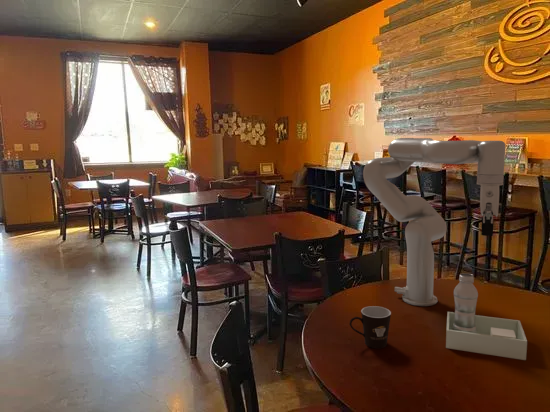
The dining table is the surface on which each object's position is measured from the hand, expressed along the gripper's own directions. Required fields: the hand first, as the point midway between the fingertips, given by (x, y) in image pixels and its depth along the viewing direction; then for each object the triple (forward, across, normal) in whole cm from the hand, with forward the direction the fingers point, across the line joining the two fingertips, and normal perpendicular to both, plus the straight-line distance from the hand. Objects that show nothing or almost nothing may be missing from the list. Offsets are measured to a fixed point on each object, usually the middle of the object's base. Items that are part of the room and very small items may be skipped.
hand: (486, 232), depth 135 cm
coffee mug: (+30, -31, +30) cm, 53 cm away
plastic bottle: (+29, -19, +5) cm, 35 cm away
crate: (+30, -19, 0) cm, 35 cm away
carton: (+29, -19, -5) cm, 35 cm away
